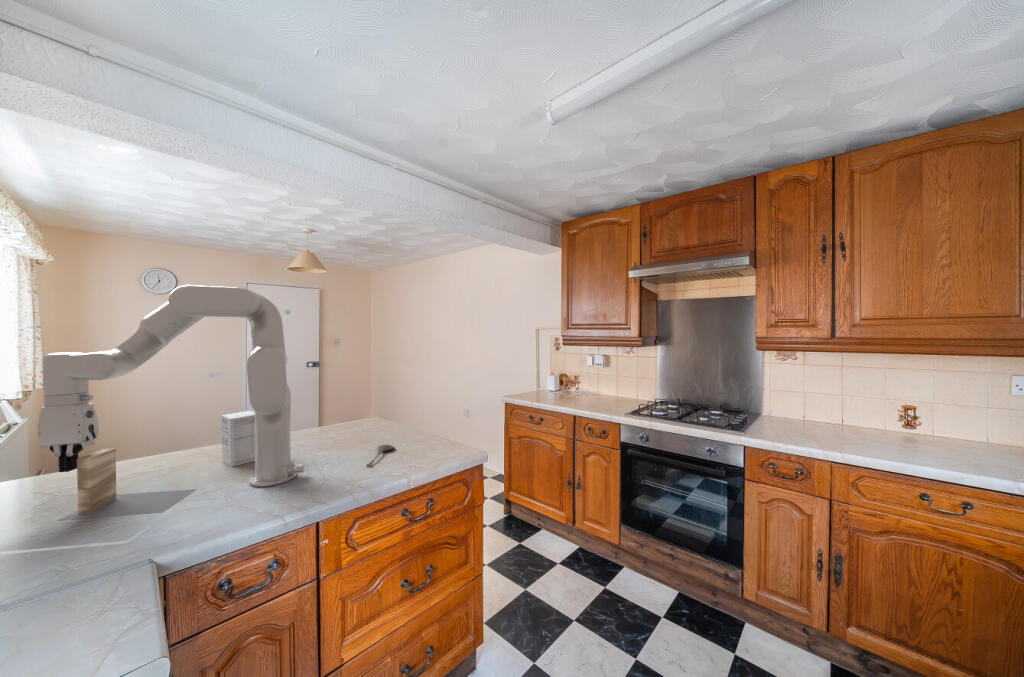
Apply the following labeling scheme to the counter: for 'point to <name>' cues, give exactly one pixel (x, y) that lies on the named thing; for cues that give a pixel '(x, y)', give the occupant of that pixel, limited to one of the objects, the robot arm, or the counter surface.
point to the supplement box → (238, 438)
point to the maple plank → (96, 480)
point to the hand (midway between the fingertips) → (68, 470)
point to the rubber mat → (135, 504)
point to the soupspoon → (381, 448)
